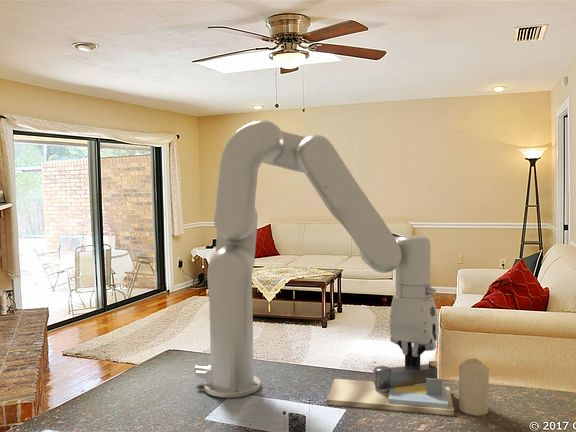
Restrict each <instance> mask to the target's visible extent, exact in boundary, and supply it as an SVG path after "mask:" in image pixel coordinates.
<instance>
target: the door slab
mask: <svg viewBox="0 0 576 432" xmlns="http://www.w3.org/2000/svg"><path fill="white" fill-rule="evenodd" d="M442 382H443V379H442V378H437V379H435V378H426V383H425V384H412V385H402V386H392V387H390V390H389V403H396V404H408V405H420V406H431V407H443V408H448V400H447V394H446V388H445V387H446V386H443V383H442Z"/></svg>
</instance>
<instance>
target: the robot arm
mask: <svg viewBox="0 0 576 432" xmlns="http://www.w3.org/2000/svg"><path fill="white" fill-rule="evenodd" d="M261 164H266V165H270V166H275V167H278V168H283V169H285V170H290V171H295V172H297V173H298V172H299V173H304V175H305V176H306V177H307V179H308V181H309V182H310V184H311V185H312V186H313V188H314V190H315V191H316V193H317V194H318V196H319V197H320V199H321V201H322V202H323V204H324V205H325V207H326V208H327V209H328V211H329V212H330V214H331V216H332V217H334V218H335V219H336V220H337V221H338V222H339V223H340V224H341V225H342V226H343V228H344V229H345V230H346V232H347V233H348V235H349V236H350V237H351V238H352V240H353V242H354V243H355V244H356V246H357V247H358V250H359V256H360V258H361V259H362V261H363V262H364V263H365V264H366V265H367V266H368V267H370V268H371V269H372V270H373V271H376V272H377V273H382V274H386V273H390V272H393V271H395V295H393V296H392V301H391V304H390V305H391V307H390V312H389V313H390V314H389V336H390V339H389V340H390V342H391V343H392V344H395V345H397V346H398V347H399V348H400V350H401V351H402V354H403V355H404V366H413V365H421V355H423V353H424V352H430V351H435V350H436V349H437V345H436V341H437V340H438V339H439V322H438V314H437V313H438V311H437V307H436V306H437V305H436V301H435V298H434V297H431V296H432V295H433V296H434V295H436V293H437V292H436V291H437V290H436V288H432V284H431V241H430V239H429V238H428V237H427V236H423V235H415V234H414V235H409V234H408V235H401V236H394V235H393V233H392V231H391V229H389V227H388V225H387V224H386V222H385V221H384V219H383V218H382V217H381V215H380V214H379V212H378V211H377V209H376V208H375V207H374V206H373V204H372V202H371V201H370V200H369V198H368V197H367V195H366V194H365V192H364V191H363V189H362V188H361V186H360V185H359V184H358V182H357V181H356V179H355V177H354V175H352V172H350V170H349V168H348V166H347V165H346V164H345V162H344V160H343V158H342V157H341V156H340V154H339V153H338V151H337V150H336V148H335V147H334V145H333V144H332V142H331V141H330V140H329V139H328V138H327V137H325V136H323V135H321V134H312V135H308V136H303V135H299V134H293V133H292V132H291V133H290V132H287V131H284V130H283V131H282V130H281V129H280V127H279V126H278V125H277V124H276V123H274V122H272V121H270V120H264V119H263V120H256V121H252V122H250V123H247V124H246V125H244V126H241V128H239V129H237V130H236V131H235V132H234V133H233V134H232V136H230V138H229V139H228V140H227V142H226V144H225V145H224V148H223V150H222V153H221V158H220V163H219V170H218V171H219V172H218V181H217V188H216V189H217V192H216V201H215V209H214V217H213V222H214V223H213V225H214V227H215V230H216V238H215V239H216V242H215V253H214V254H213V255H212V256H211V258H210V260H209V262H208V267H207V288H208V289H207V290H208V301H209V303H208V305H209V309H208V310H209V339H210V340H209V343H210V344H209V345H210V346H209V347H210V348H209V349H210V354H209V355H210V365H208V366H204V365H195V367H194V375H195V378H198V379H200V378H204V379H205V382H204V384H203V390H204V391H205V393H206V394H207V395H210V396H213V397H217V398H223V399H224V398H225V399H227V398H229V399H230V398H231V399H233V398H234V399H235V398H241V397H246V396H249V395H252V394H254V393H256V392H257V391H258V390H260V388H261V387H262V385H261V379H260V378H259V377H258V376H257V375H255V374H254V327H253V326H254V322H253V321H254V319H253V316H254V315H253V314H254V313H253V271H254V266H255V256H256V245H257V236H258V235H257V233H258V219H259V218H258V212H257V210H256V197H257V195H256V192H257V185H258V174H259V169H260V167H261Z"/></svg>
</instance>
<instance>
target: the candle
mask: <svg viewBox="0 0 576 432" xmlns="http://www.w3.org/2000/svg"><path fill="white" fill-rule="evenodd" d="M458 367H459V368H458V408H459V410H460V412H462V413H464V414H466V415H469V416H477V417H479V416H481V417H482V416H485V415H487V414H488V413H489V405H490V404H489V397H490V396H489V395H490V393H489V391H490V389H489V387H490V386H489V384H490V383H489V378H490V377H489V376H490V371H489V370H490V369H489V367H488V366H487V365H485V364H484V363H483V362H482V361H481V360H479V359H477V358H476V357H475V358H467V359H466V360H464V361H463V362H462V363H460V365H459V366H458Z"/></svg>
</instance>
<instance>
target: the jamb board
mask: <svg viewBox="0 0 576 432" xmlns="http://www.w3.org/2000/svg"><path fill="white" fill-rule="evenodd" d="M444 387H445V388H446V394H447V400H448V408H443V407H431V406H420V405H408V404H396V403H389V392H388V393H380V392H377V391H376V390H375V385H374V383H373V381H371V380H370V381H369V380H368V381H367V380H358V379H357V380H354V379H343V378H334V380H333V382H332V384H331V388H330V390H329V392H328V394H327V397H326V398H325V399H326V402H325V403H326V405H331V406H332V405H333V406H340V407H341V406H342V407H353V408H366V409H376V410H387V411H397V412H399V411H400V412H410V413H411V412H412V413H420V414H430V415H431V414H432V415H434V414H435V415H443V416H444V415H445V416H455V410H454V403H453V399H452V393H451V388H450V387H448V386H444Z"/></svg>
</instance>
